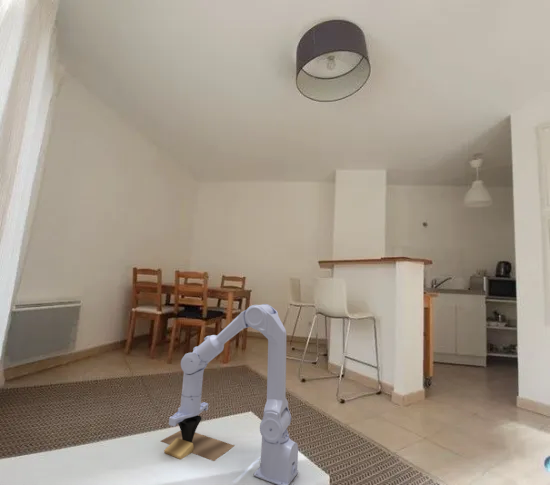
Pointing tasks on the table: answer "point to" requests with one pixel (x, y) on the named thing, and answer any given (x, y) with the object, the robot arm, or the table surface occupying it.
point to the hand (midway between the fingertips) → (187, 443)
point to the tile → (179, 448)
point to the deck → (204, 445)
